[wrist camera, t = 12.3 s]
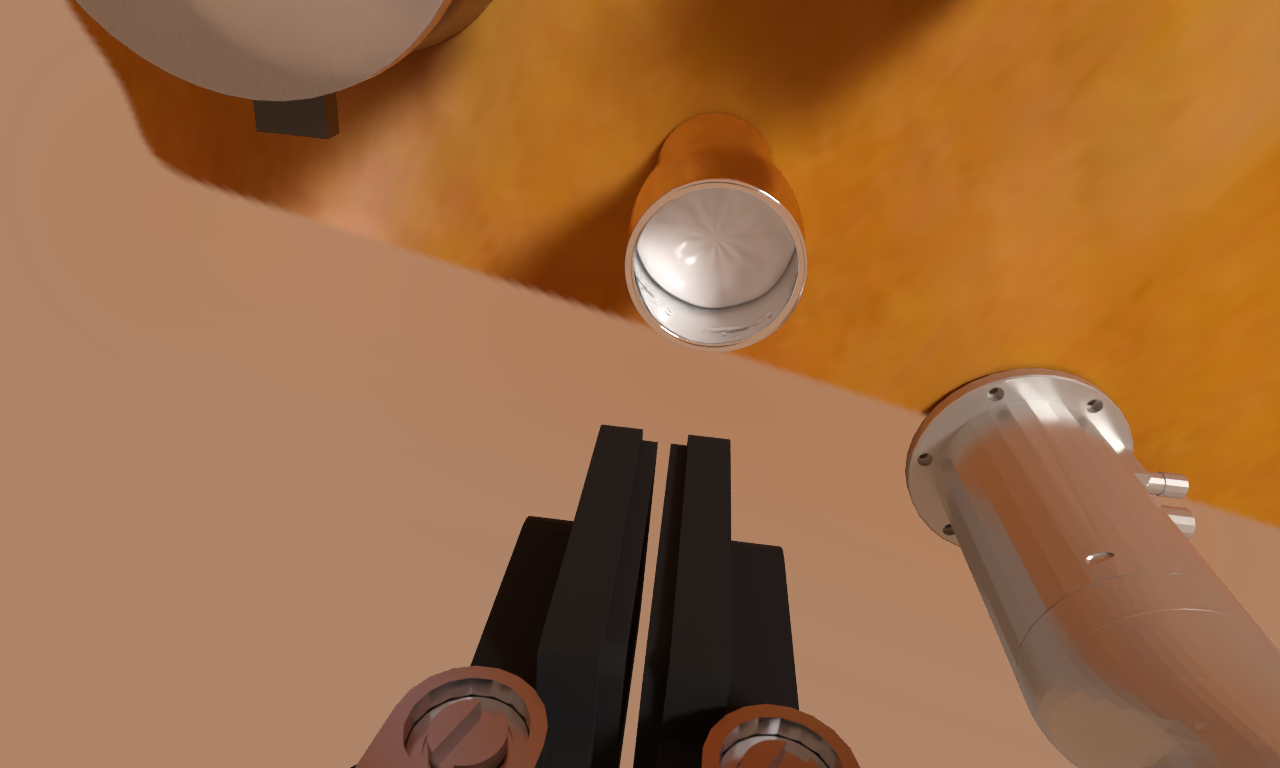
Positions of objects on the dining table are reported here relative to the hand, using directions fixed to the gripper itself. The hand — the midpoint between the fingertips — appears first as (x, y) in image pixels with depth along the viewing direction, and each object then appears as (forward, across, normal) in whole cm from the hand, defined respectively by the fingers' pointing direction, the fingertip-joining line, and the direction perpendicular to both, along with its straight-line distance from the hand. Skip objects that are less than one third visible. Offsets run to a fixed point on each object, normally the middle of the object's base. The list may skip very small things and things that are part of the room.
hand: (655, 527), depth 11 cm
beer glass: (+34, -1, +3) cm, 35 cm away
